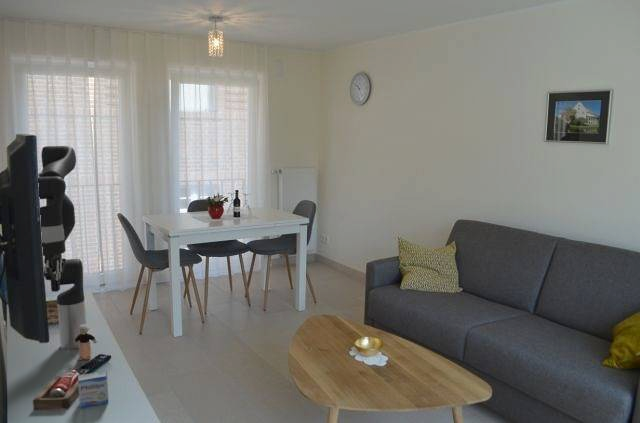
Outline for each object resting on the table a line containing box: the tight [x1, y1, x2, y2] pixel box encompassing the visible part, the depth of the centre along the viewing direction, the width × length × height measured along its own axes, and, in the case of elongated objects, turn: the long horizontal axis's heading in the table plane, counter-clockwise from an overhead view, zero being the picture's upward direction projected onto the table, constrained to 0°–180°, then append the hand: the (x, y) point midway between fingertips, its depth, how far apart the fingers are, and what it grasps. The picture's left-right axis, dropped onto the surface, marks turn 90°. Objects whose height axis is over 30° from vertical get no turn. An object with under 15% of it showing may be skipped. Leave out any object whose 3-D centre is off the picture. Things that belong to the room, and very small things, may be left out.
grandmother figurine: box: [74, 324, 98, 361], centre depth 183 cm, size 8×4×13 cm, turn 111°
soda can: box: [49, 369, 81, 398], centre depth 158 cm, size 5×5×12 cm
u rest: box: [32, 375, 79, 411], centre depth 157 cm, size 15×10×3 cm
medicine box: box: [78, 370, 109, 409], centre depth 154 cm, size 8×4×9 cm, turn 114°
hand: (55, 290), depth 167 cm, fingers closed
